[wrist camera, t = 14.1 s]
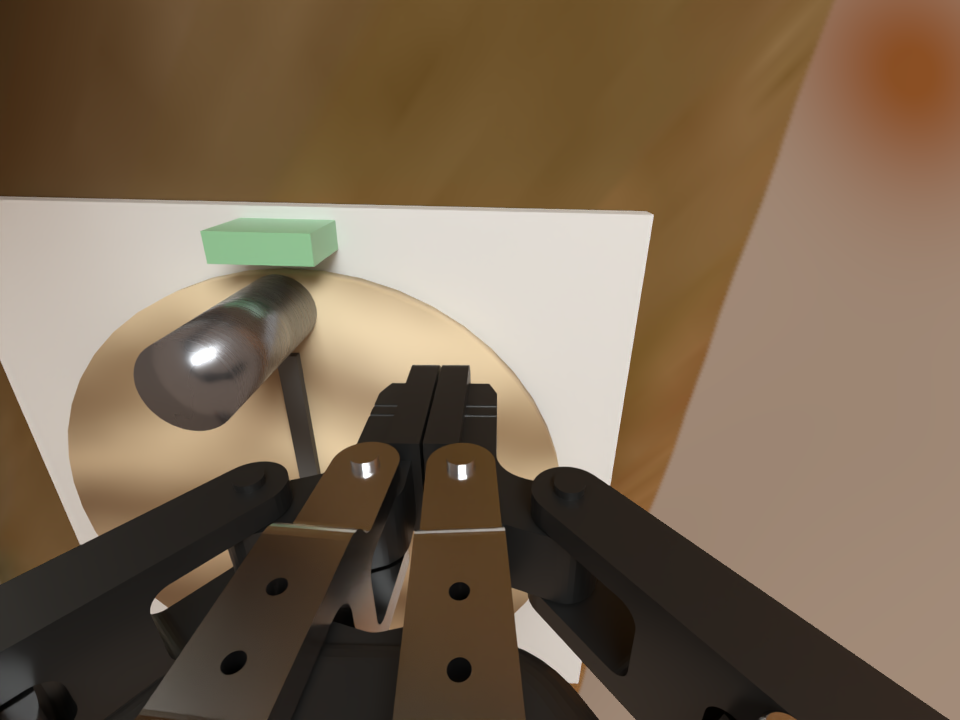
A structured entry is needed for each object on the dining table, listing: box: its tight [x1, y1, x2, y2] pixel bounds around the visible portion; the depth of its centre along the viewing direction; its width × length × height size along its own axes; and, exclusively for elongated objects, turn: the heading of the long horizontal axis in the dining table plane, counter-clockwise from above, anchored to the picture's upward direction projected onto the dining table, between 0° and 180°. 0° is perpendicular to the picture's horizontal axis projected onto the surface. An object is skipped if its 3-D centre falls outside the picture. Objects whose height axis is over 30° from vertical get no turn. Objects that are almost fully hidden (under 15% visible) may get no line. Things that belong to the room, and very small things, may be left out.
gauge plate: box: [0, 196, 654, 683], centre depth 26 cm, size 30×30×4 cm
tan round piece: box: [68, 268, 559, 630], centre depth 23 cm, size 25×25×8 cm
